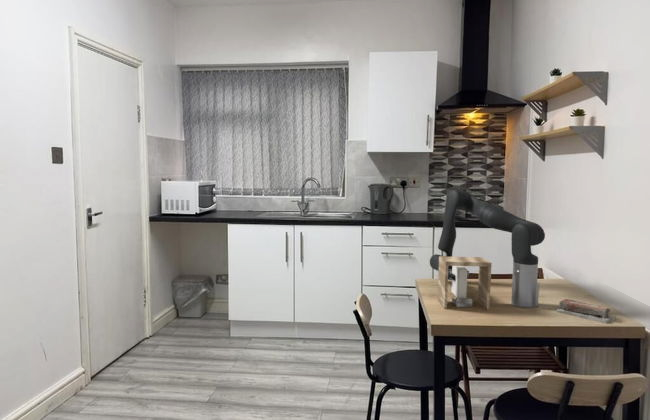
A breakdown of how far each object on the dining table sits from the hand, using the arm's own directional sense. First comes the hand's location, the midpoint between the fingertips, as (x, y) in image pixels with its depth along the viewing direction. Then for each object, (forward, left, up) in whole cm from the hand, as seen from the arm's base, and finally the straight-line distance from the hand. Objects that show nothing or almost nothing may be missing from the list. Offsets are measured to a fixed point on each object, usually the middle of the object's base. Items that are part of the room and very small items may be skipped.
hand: (459, 278), depth 198 cm
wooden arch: (0, +7, -9) cm, 12 cm away
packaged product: (-43, +17, -10) cm, 48 cm away
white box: (0, 0, -7) cm, 7 cm away
